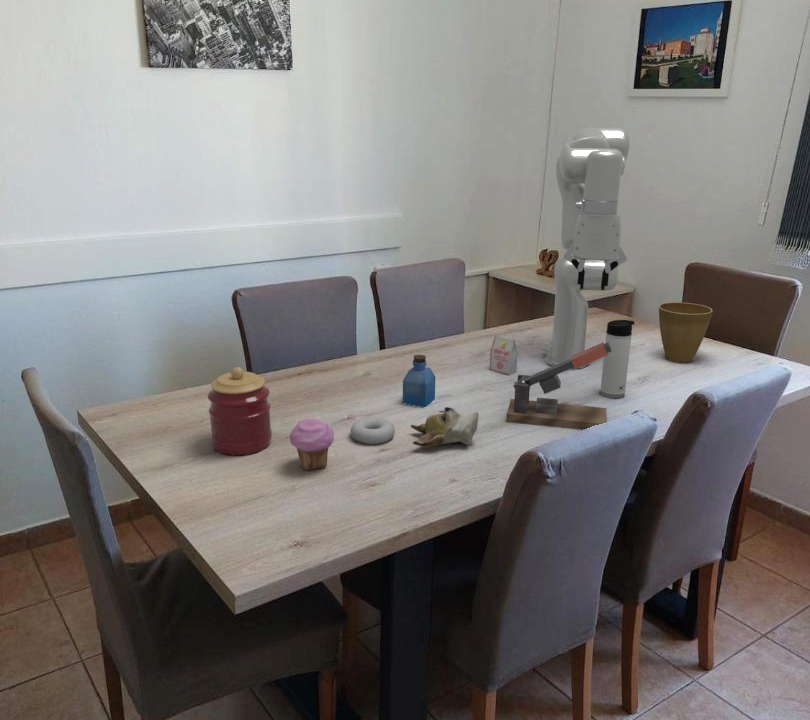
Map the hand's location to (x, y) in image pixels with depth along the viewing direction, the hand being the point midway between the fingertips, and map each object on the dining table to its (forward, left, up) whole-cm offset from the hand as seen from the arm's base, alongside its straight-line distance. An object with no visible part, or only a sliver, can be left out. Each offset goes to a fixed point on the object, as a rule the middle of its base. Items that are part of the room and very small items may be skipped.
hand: (592, 287), depth 165 cm
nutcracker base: (-2, -7, -31) cm, 32 cm away
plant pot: (-3, +58, -32) cm, 66 cm away
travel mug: (-1, +17, -32) cm, 36 cm away
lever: (0, -6, -22) cm, 23 cm away
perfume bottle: (-32, -24, -32) cm, 51 cm away
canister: (-41, -70, -32) cm, 87 cm away
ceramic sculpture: (-11, -37, -32) cm, 50 cm away
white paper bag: (-32, +10, -32) cm, 46 cm away
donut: (-24, -47, -32) cm, 61 cm away
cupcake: (-22, -65, -32) cm, 76 cm away
